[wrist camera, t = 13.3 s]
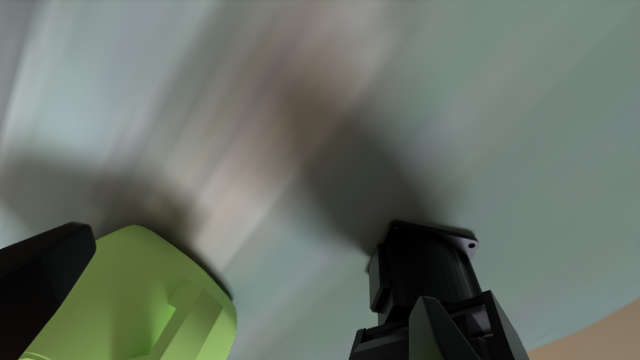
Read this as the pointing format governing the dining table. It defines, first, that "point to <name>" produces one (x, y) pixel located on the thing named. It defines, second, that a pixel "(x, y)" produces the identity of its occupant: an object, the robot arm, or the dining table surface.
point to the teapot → (139, 307)
